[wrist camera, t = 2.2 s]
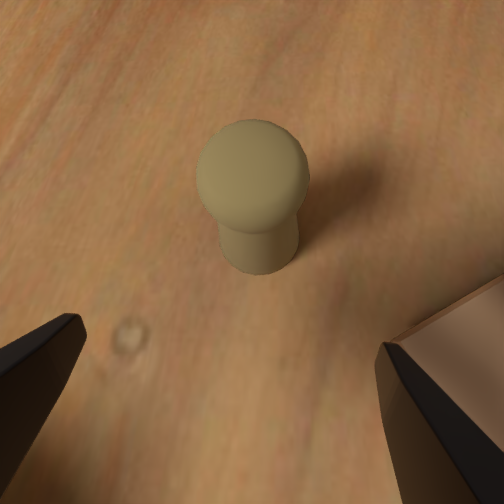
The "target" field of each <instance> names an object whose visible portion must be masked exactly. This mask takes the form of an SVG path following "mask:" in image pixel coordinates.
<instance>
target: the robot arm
mask: <svg viewBox="0 0 504 504" xmlns="http://www.w3.org/2000/svg"><path fill="white" fill-rule="evenodd" d="M86 338H87V332H86V329H85V326H84V324H83V321H82V318H81V316H80V315H79V314H75V313H64V314H62V315H60V316H58V317H56V318H55V319H53V320H51V321H49V322H47V323H46V324H44V325H42V326H40V327H38V328H37V329H35V330H33V331H31V332H29V333H28V334H26V335H24V336H22V337H20V338H19V339H17V340H15V341H13V342H11V343H9V344H8V345H6V346H4V347H2V348H0V499H1V498H2V496H3V494H4V492H5V491H6V489H7V487H8V485H9V484H10V482H11V480H12V478H13V477H14V475H15V473H16V471H17V470H18V468H19V466H20V464H21V463H22V461H23V459H24V457H25V456H26V454H27V452H28V451H29V449H30V447H31V445H32V444H33V442H34V440H35V438H36V437H37V435H38V433H39V431H40V430H41V428H42V426H43V424H44V423H45V421H46V419H47V417H48V416H49V414H50V412H51V410H52V409H53V407H54V405H55V403H56V402H57V400H58V398H59V396H60V395H61V393H62V391H63V389H64V387H65V385H66V383H67V381H68V379H69V377H70V375H71V373H72V370H73V368H74V366H75V364H76V361H77V359H78V357H79V355H80V352H81V350H82V348H83V346H84V344H85V341H86ZM375 374H376V382H377V389H378V396H379V403H380V411H381V417H382V423H383V427H384V432H385V436H386V440H387V444H388V448H389V452H390V456H391V460H392V463H393V467H394V471H395V475H396V479H397V483H398V487H399V491H400V495H401V499H402V503H403V504H504V452H503V451H502V450H501V449H500V448H499V447H498V446H497V445H496V444H495V443H494V442H493V441H492V440H491V439H490V438H489V437H488V436H487V435H486V434H485V433H484V431H483V430H482V429H481V428H480V427H479V426H478V425H477V424H476V423H475V422H474V421H473V420H472V419H471V418H470V417H469V416H468V415H467V414H466V413H465V412H464V411H463V410H462V409H461V408H460V407H459V406H458V405H457V404H456V403H455V402H454V401H453V400H452V399H451V398H450V397H449V395H448V394H447V393H446V392H445V391H444V390H443V389H442V388H441V387H440V386H439V385H438V384H437V383H436V382H435V381H434V380H433V379H432V378H431V377H430V376H429V375H428V374H427V373H426V372H425V371H424V370H423V369H422V368H421V367H420V366H419V365H418V364H417V363H416V362H415V361H414V359H413V358H412V357H411V356H410V355H409V354H408V353H407V352H406V351H405V350H404V349H403V348H402V347H401V346H400V345H399V344H397V343H391V342H383V343H382V344H381V345H380V348H379V351H378V354H377V357H376V360H375Z"/></svg>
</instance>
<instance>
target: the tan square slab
mask: <svg viewBox="0 0 504 504" xmlns="http://www.w3.org/2000/svg"><path fill="white" fill-rule="evenodd" d="M391 343H397V344H399V345H400V346H401V347H402V348H403V349H404V350H405V351H406V352H407V353H408V354H409V355H410V356H411V357H412V358H413V359H414V361H415V362H416V363H417V364H418V365H419V366H420V367H421V368H422V369H423V370H424V371H425V372H426V373H427V374H428V375H429V376H430V377H431V378H432V379H433V380H434V381H435V382H436V383H437V384H438V385H439V386H440V387H441V388H442V389H443V390H444V391H445V392H446V393H447V394H448V395H449V397H450V398H451V399H452V400H453V401H454V402H455V403H456V404H457V405H458V406H459V407H460V408H461V409H462V410H463V411H464V412H465V413H466V414H467V415H468V416H469V417H470V418H471V419H472V420H473V421H474V422H475V423H476V424H477V425H478V426H479V427H480V428H481V429H482V430H483V431H484V433H485V434H486V435H487V436H488V437H489V438H490V439H491V440H492V441H493V442H494V443H495V444H496V445H497V446H498V447H499V448H500V449H501V450H502V451H503V452H504V274H502V275H500V276H499V277H497V278H495V279H494V280H492V281H490V282H489V283H487V284H485V285H484V286H482V287H480V288H478V289H477V290H475V291H473V292H472V293H470V294H468V295H467V296H465V297H463V298H462V299H460V300H458V301H457V302H455V303H453V304H452V305H450V306H448V307H446V308H445V309H443V310H441V311H440V312H438V313H436V314H435V315H433V316H431V317H430V318H428V319H426V320H425V321H423V322H421V323H420V324H418V325H416V326H414V327H413V328H411V329H409V330H408V331H406V332H404V333H403V334H401V335H399V336H398V337H396V338H394V339H393V340H391Z"/></svg>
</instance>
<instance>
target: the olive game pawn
mask: <svg viewBox="0 0 504 504" xmlns="http://www.w3.org/2000/svg"><path fill="white" fill-rule="evenodd" d="M196 180H197V191H198V193H199V195H200V198H201V200H202V203H203V205H204V207H205V209H206V210H207V211H208V212H209V213H210V214H211V216H212V217H213V218H214V219H215V220H216V221H217V222H218V232H219V243H220V247H221V250H222V252H223V255H224V257H225V258H226V259H227V260H228V261H229V263H230V264H231V265H232V266H233V267H235V268H237V269H238V270H240V271H242V272H243V273H248V274H252V275H265V274H271V273H273V272H275V271H278V270H280V269H282V268H283V267H284V266H285V265H286V264H287V263H289V262H290V261H291V259H292V258H293V256H294V254H295V252H296V251H297V248H298V243H299V238H300V237H299V229H298V221H297V212H298V210H299V208H300V207H301V205H302V203H303V202H304V200H305V197H306V194H307V189H308V185H309V180H310V175H309V168H308V161H307V157H306V155H305V153H304V151H303V149H302V147H301V145H300V143H299V141H298V140H296V139H295V138H294V137H293V136H292V135H291V134H290V133H289V132H288V131H287V130H285V129H284V128H282V127H280V126H278V125H276V124H274V123H272V122H269V121H263V120H257V119H251V120H241V121H237V122H235V123H232V124H230V125H227V126H225V127H224V128H222V129H221V130H220V131H219V132H217V133H216V134H215V135H213V136H212V137H211V138H210V140H209V141H208V143H207V144H206V145H205V147H204V148H203V150H202V151H201V153H200V157H199V160H198V163H197V167H196Z"/></svg>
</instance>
